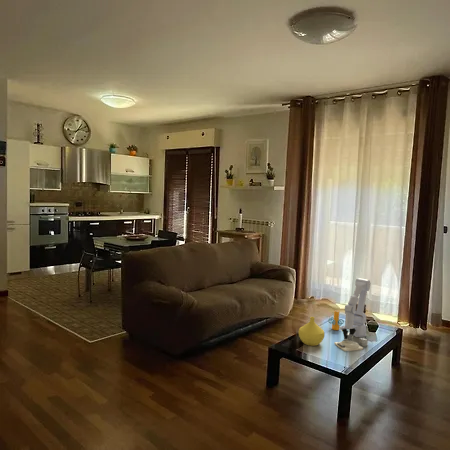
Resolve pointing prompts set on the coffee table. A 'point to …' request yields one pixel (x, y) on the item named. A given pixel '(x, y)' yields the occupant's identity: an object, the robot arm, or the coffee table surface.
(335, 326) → the orange toy figure
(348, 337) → the block
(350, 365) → the coffee table surface
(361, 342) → the block
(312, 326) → the vase
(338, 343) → the scale
